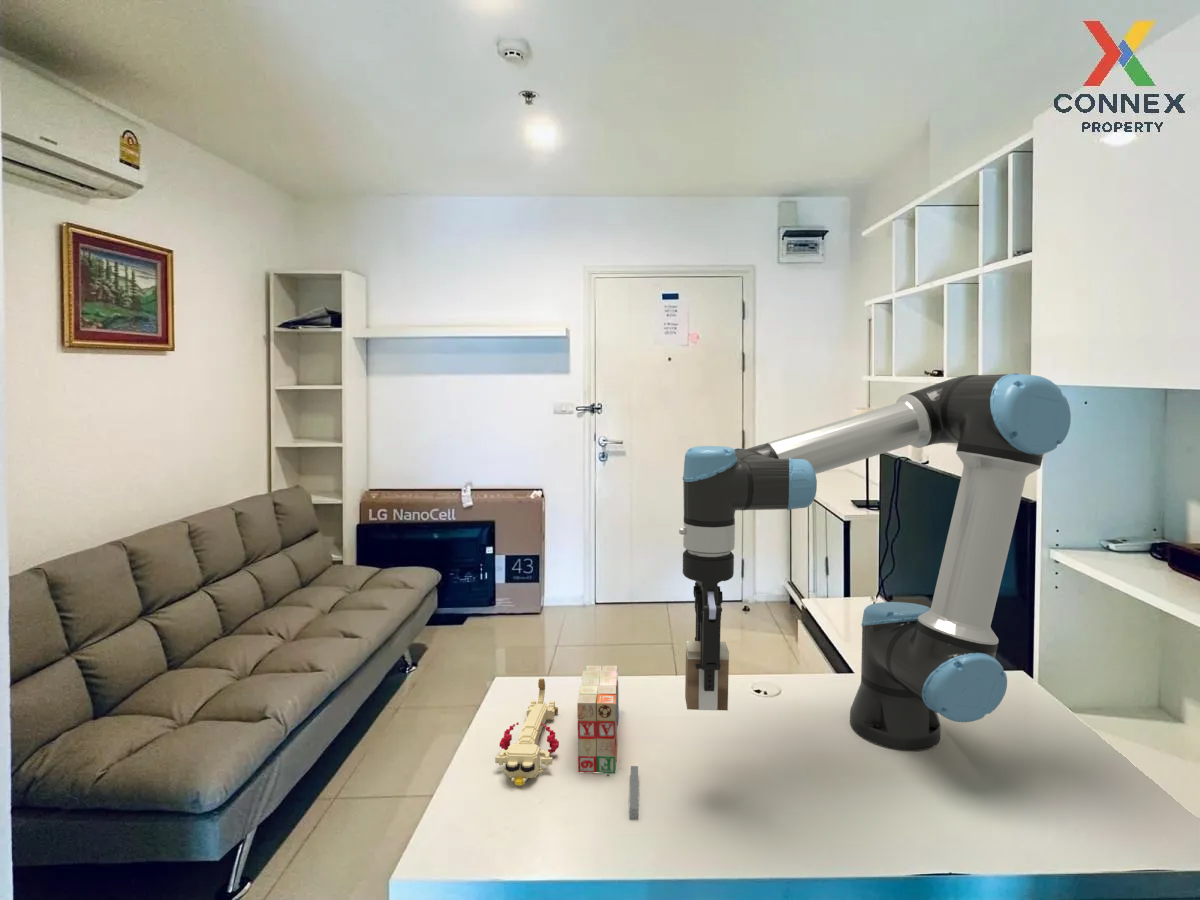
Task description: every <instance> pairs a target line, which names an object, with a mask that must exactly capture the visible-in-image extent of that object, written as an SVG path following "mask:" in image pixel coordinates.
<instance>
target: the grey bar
mask: <svg viewBox="0 0 1200 900" xmlns="http://www.w3.org/2000/svg"><path fill="white" fill-rule="evenodd" d="M629 777H630V780H629V783H630V784H629V819H630V820H638V819H639V765H630V776H629Z"/></svg>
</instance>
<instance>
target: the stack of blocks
mask: <svg viewBox="0 0 1200 900" xmlns="http://www.w3.org/2000/svg"><path fill="white" fill-rule="evenodd" d="M618 670H619V668H618V665H586V666H585V670H582V676H581V685H580V687H579V688H580V689H579V694H578V697H577V705H576V706H577V744H578V747H577V748H578V749H577V751H578V753H577V772H603V773H602V774H616V772H617V771H616V769H617V763H616V762H617V761H618V746H619V745H618V726H619V717H620V716H619V712H620V710H619V708H620V707H619V674H618ZM615 771H616V772H615Z"/></svg>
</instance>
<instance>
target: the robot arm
mask: <svg viewBox="0 0 1200 900" xmlns="http://www.w3.org/2000/svg"><path fill="white" fill-rule="evenodd" d="M1071 416H1072V415H1071V408H1070V405H1069V402H1068V400H1067V397H1066V396H1065V395H1063V393H1062V390H1061V388H1060V387H1059V386H1058V385H1057V384H1056V383H1055V382H1053V381H1052V380H1050V379H1048V378H1046V377H1043V376H1039V375H1034V374H1025V373H1016V372H1014V373H1008V374H1007V373H1006V374H1005V373H1003V374H969V375H963V376H962V375H961V376H956V377H953V378H950V379H947V380H944V381H941V382H938V383H935V384H932V385H929V386H927V387H924V388H921V389H917V390H914V391H911V392H909V393H906V394H903V395H900V396H899V397H898V398H897V400H896V402H895V403H893V404H890V405H889V404H888V405H886V406H883V407H880V408H876V409H874V410H869V411H866V412H864V413H860V414H857V415H853V416H851V417H847V418H844V419H840V420H837V421H834V422H831V423H828V424H825V425H821V426H820V425H819V426H818V427H815V428H811V429H808V430H804V431H802V432H798V433H795V434H792V435H789V436H788V435H787V436H785V437H782V438H777V439H776V440H772V441H767V442H766V443H761V444H758V445H755V446H752V447H748V448H747V449H745V448H738V447H737V448H733V447H729V446H724V445H721V446H720V445H719V446H718V445H716V446H715V445H714V446H713V445H699V446H698V445H697V446H693V447H689V448H688V449H687V450H686V451H685V454H684V461H683V476H682V481H683V487H682V488H683V527H681V528H679V530H678V534H680V535H682V536H683V539H682V540H683V543H682V544H683V547H684V551H683V553H682V574H683V576H684V577H685V578H687V579H688V580H691V581H695V582H694V586H693V593H692V594H693V598H694V611H695V637H694V641H700V651H701V662H700V664H695V666H696V669H699V710H698V711H718V710H717V702H718V670H720V642H721V626H722V625H721V622H722V621H721V620H722V612H723V608H722V604H723V602H724V601H723V591H722V590H721V586H720V585H718V584H719V583H721V582H726V581H729V580H731V579H732V578H733V577H734V575H735V574H734V573H735V571H734V570H735V569H734V568H735V555H734V553H733V552H732V551H733V550H734V549H735V546H736V545H735V539H736V537H735V533H736V532H735V531H736V522H735V521H736V518H735V515H736V511H764V510H765V511H767V510H768V511H769V510H772V511H773V510H775V511H776V510H787V511H791V510H796V509H804V508H805V509H806V508H808V507H810V506H811V505H812V503H813V502H814V500H815V499H816V498H815V497H816V496H817V495H816V494H817V490H818V489H817V486H818V485H817V482H818V481H817V475H818V474H821V473H825V472H828V471H830V470H835V469H838V468H840V467H843V466H847V465H850V464H853V463H856V462H859V461H862V460H867V459H869V458H873V457H876V456H879V455H881V454H886V453H888V452H892V451H895V450H898V449H901V448H905V447H908V446H911V447H913V448H917V449H922V448H924V447H928V446H932V445H937V444H957V446H956V450H955V454H956V455H957V457H958V458H959V459H960V461H961V462H962V464H963V468H962V472H961V477H960V481H959V484H958V485H959V486H958V490H957V494H956V499H955V502H954V503H955V504H954V506H953V512H952V516H951V521H950V524H949V529H948V533H947V537H946V541H945V546H944V551H943V555H942V557H941V558H942V559H941V561H940V562H941V563H940V567H939V571H938V572H939V573H938V576H937V580H936V585H935V589H934V594H933V598H932V601H931V602H932V603H931V605H930V607H929V606H926V605H923V604H920V603H919V604H918V603H912V602H902V601H884V602H876V603H872V604H871V603H870V604H869V605H867V606H866V607H865V608H864V609H863V615H862V622H861V625H860V626H861V627H862V628H861V631H862V632H861V663H860V665H861V666H860V667H861V669H860V673H861V676H860V683H859V684H860V685H859V687H858V689H857V692H856V693H855V697H854V699H853V700H852V704H851V706H850V709H849V725H850V727H851V729H852V730H853V731H854V732H855V733H856V734H857V735H859V736H860V737H862V739H864V740H867V741H869V742H871V743H873V744H876V745H878V746H882V747H886V748H888V749H889V748H890V749H893V750H899V751H925V750H927V749H930V748H934V747H935V746H937V745H939V742H940V741H941V736H942V735H941V732H942V727H941V721H940V719H939V716H938V714H939V715H941V716H942V717H943V718H946V719H947V720H949V721H952V722H957V723H971V722H975V721H979V720H981V719H983V718H984V717H985V716H986V715H990V714H991V713H992V712H993V711H995V710H996V709H997V707H998V706H999V705H1000V704H1001V702H1002V701H1003V699H1004V697H1005V695H1006V692H1007V688H1008V677H1007V674H1006V672H1005V671H1004V667H1003V665H1001V663H1000V662H999V660H998V659H997V658H996V655H997V650H998V647H999V638H998V636H997V635H996V633H995V632H994V630H993V629H992V627H991V625H992V621H993V618H994V614H995V613H994V612H995V610H996V609H995V608H996V603H997V601H998V597H999V592H1000V587H1001V583H1002V579H1003V575H1004V571H1005V566H1006V562H1007V560H1008V554H1009V551H1010V546H1011V542H1012V537H1013V533H1014V529H1015V525H1016V520H1017V516H1018V513H1019V509H1020V504H1021V499H1022V495H1023V491H1024V488H1025V484H1026V483H1025V482H1026V479H1027V477H1028V476H1029V475H1030V474H1033V473H1034V472H1037V471H1038V470H1039V469H1041V465H1042V463H1043V458H1044V455H1045V454H1047V453H1050V452H1053V451H1054V450H1056V449H1057V448H1058V445H1061V444H1063V443H1064V441H1065V440H1066V438H1067V436H1068V435H1069V431H1070V427H1071V418H1072V417H1071Z"/></svg>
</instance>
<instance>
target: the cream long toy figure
mask: <svg viewBox="0 0 1200 900" xmlns="http://www.w3.org/2000/svg"><path fill="white" fill-rule="evenodd" d="M537 683H538V686H537V687H538V690H539V691H538V698H537V699H538V700H533V699H531V700H530V705H529V706H527V709H526V720H525V722H524V724H523V726H522V729H521V733H520V735H519V738H518V742H517V743H512V744H511V741H513V739H512V738H513V734H511V731H513V730H514V727H516V726H518V725H519V722H516V723H514V724H512V725H509V728H506V730H504V731H503V733H504V734H503V737H502V738H501V740H500V742H499V748H501V749H502V750H500V752H499V755H495V757H494V761H495V762H494V763H495V764H498V765H499V766H503V765H504V769H503V772H504V773H505V775H506V776H507V777H508V778H511V782H514V785H515V786H523V785H525V782H526V781H527V780H528V779H534V778H536V776H538V774H542V773H543V771H544V769H545V768H544V767H549V766H552V765H553V763H554V762H553V756H552V757H551V754H553V753H555V752H556V750H557V749H558V748H559V747H560V744H559V743H560V741H559V740H558V739H557V738H556V732H555V731H554V729H551V726H547V724H545V723H546V721H547V720H551V721H552V720H553V719H555V716H556V715H558V713H559V707H558V706H556V702H555V700H550V701H549V703H548V704H549V705H548V704H547V703H546V702H544V700H545V694H546V692H545V691H546V681H545V678H538V682H537ZM543 727H544V728H545V731H546V732H548V733H549V735H547V737H546V741H547V743H548V744H549V748H550V749H547V750H543V749H541V747H540V746H539V745H538V743H539V739H540V735H541V733H542V730H543ZM541 765H544V766H542V767H541Z"/></svg>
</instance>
